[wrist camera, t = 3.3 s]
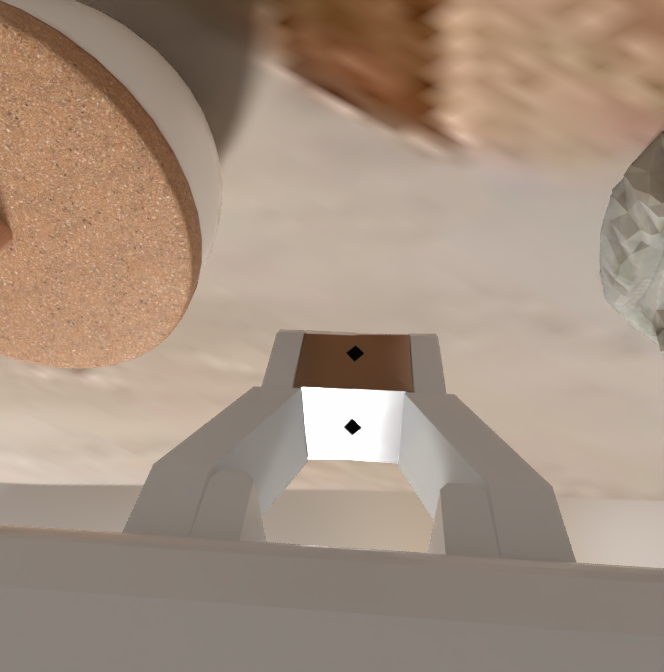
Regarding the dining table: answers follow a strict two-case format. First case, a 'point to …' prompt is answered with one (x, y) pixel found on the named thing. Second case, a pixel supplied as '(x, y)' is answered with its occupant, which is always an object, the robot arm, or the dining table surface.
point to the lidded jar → (96, 188)
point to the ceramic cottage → (637, 244)
